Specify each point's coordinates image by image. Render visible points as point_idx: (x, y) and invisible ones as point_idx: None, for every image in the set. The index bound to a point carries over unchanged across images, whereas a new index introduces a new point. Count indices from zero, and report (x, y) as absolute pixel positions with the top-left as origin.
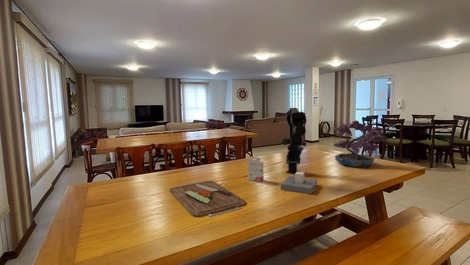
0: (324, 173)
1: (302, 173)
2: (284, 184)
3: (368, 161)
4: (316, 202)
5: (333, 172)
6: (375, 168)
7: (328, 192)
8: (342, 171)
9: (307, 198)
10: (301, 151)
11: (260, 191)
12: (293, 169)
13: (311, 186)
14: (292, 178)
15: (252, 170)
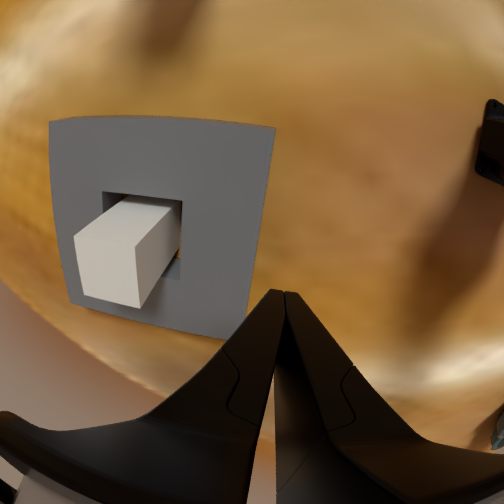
0: (471, 336)
1: (108, 295)
2: (49, 148)
3: (492, 446)
4: (34, 300)
5: (477, 364)
6: (479, 437)
7: (150, 353)
8: (480, 387)
9: (41, 271)
10: (277, 498)
11: (22, 38)
12: (498, 160)
13: (97, 306)
14: (203, 168)
15: None
